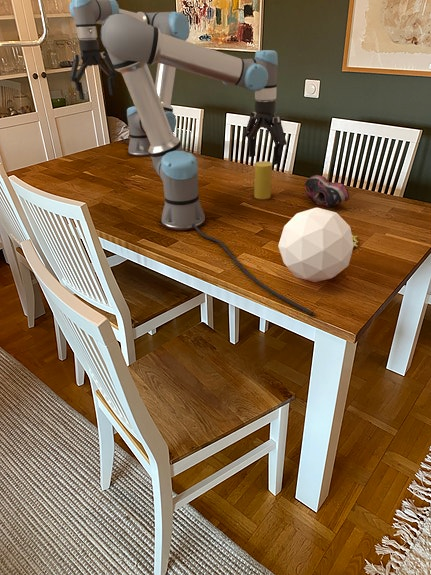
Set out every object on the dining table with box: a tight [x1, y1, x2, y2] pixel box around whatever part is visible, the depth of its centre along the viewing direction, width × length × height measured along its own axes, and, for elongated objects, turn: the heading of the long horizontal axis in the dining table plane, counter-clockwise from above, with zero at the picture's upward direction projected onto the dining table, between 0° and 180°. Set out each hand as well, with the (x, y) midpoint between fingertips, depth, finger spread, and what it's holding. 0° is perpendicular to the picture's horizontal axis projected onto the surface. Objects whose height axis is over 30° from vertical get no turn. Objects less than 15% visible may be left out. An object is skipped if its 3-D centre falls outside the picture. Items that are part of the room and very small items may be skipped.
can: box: [253, 160, 273, 200], centre depth 171 cm, size 6×6×13 cm
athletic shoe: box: [302, 174, 350, 208], centre depth 165 cm, size 11×22×12 cm
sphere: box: [277, 207, 355, 283], centre depth 118 cm, size 19×20×20 cm
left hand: (97, 97), depth 185 cm, fingers open, 13 cm apart
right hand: (264, 160), depth 167 cm, fingers open, 13 cm apart
